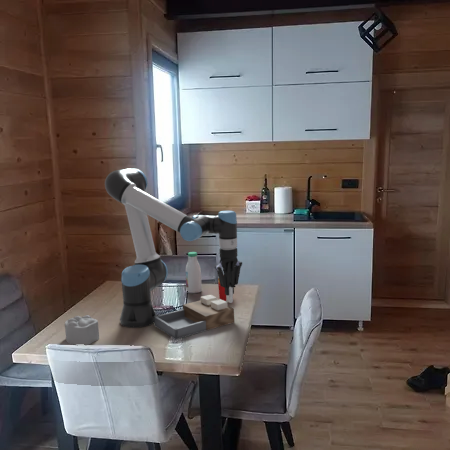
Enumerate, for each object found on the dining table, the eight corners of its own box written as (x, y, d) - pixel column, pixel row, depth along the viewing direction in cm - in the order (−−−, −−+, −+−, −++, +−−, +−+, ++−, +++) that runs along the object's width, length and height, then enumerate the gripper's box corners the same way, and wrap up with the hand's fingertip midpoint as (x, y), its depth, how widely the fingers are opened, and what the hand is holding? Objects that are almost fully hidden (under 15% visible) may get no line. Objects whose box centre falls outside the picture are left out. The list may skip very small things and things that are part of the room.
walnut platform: (206, 330, 199) (205, 316, 198) (183, 317, 214) (182, 304, 213) (234, 322, 207) (233, 308, 206) (210, 310, 222) (210, 297, 221)
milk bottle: (204, 289, 252) (202, 251, 249) (197, 294, 245) (195, 255, 242) (191, 288, 255) (189, 250, 252) (183, 292, 249) (181, 253, 245)
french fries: (226, 295, 242) (225, 272, 239) (232, 297, 239) (232, 273, 237) (216, 301, 234) (215, 276, 232) (223, 302, 232) (222, 277, 230)
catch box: (175, 339, 192) (175, 329, 191) (154, 325, 206) (153, 316, 205) (206, 330, 199) (205, 321, 199) (183, 317, 214) (183, 309, 213)
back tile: (207, 305, 211) (206, 299, 211) (200, 302, 215) (200, 296, 215) (216, 302, 214) (216, 297, 213) (210, 299, 218) (210, 294, 217)
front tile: (217, 310, 205) (217, 304, 204) (210, 307, 209) (210, 301, 208) (227, 307, 207) (227, 302, 207) (220, 304, 211) (220, 299, 211)
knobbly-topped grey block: (83, 347, 187) (81, 325, 186) (59, 341, 194) (57, 320, 192) (102, 337, 196) (101, 316, 195) (79, 331, 202) (77, 311, 201)
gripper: (220, 251, 200) (222, 307, 204) (246, 247, 207) (247, 300, 212) (210, 248, 206) (212, 302, 210) (235, 244, 213) (236, 296, 218)
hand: (229, 301), depth 211 cm, fingers closed
